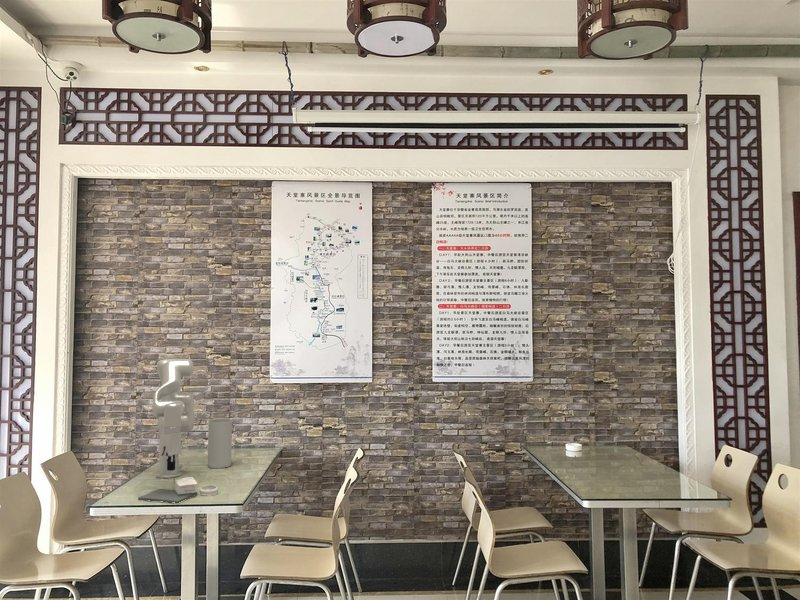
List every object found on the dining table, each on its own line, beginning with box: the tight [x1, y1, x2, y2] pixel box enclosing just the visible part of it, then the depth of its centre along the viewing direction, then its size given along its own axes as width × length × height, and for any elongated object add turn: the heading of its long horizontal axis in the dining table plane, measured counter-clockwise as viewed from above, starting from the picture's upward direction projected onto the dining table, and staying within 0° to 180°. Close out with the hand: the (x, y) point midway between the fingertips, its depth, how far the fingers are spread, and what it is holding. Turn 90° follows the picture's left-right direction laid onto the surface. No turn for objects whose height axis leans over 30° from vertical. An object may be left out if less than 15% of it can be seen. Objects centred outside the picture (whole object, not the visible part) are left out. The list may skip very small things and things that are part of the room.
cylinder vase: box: [207, 418, 233, 469], centre depth 337 cm, size 12×12×25 cm
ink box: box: [173, 476, 198, 495], centre depth 280 cm, size 9×5×15 cm
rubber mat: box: [138, 488, 198, 504], centre depth 275 cm, size 15×20×1 cm
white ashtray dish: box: [199, 485, 219, 496], centre depth 282 cm, size 8×8×3 cm
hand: (171, 470), depth 280 cm, fingers closed
